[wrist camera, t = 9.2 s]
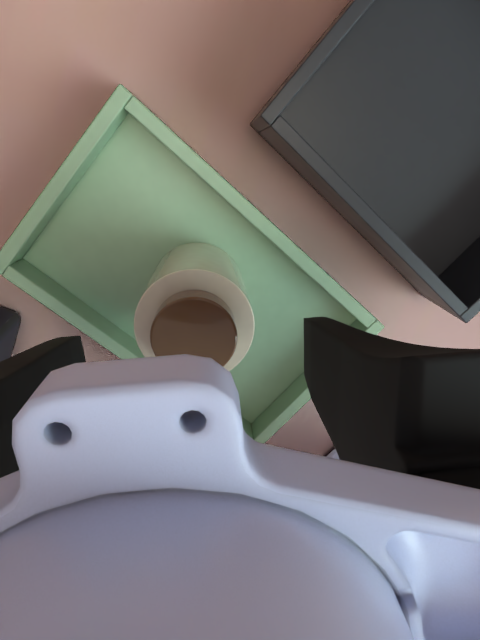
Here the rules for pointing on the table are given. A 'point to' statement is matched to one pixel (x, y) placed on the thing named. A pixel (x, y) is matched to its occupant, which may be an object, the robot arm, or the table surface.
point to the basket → (395, 136)
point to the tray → (157, 240)
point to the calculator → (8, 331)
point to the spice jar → (196, 307)
